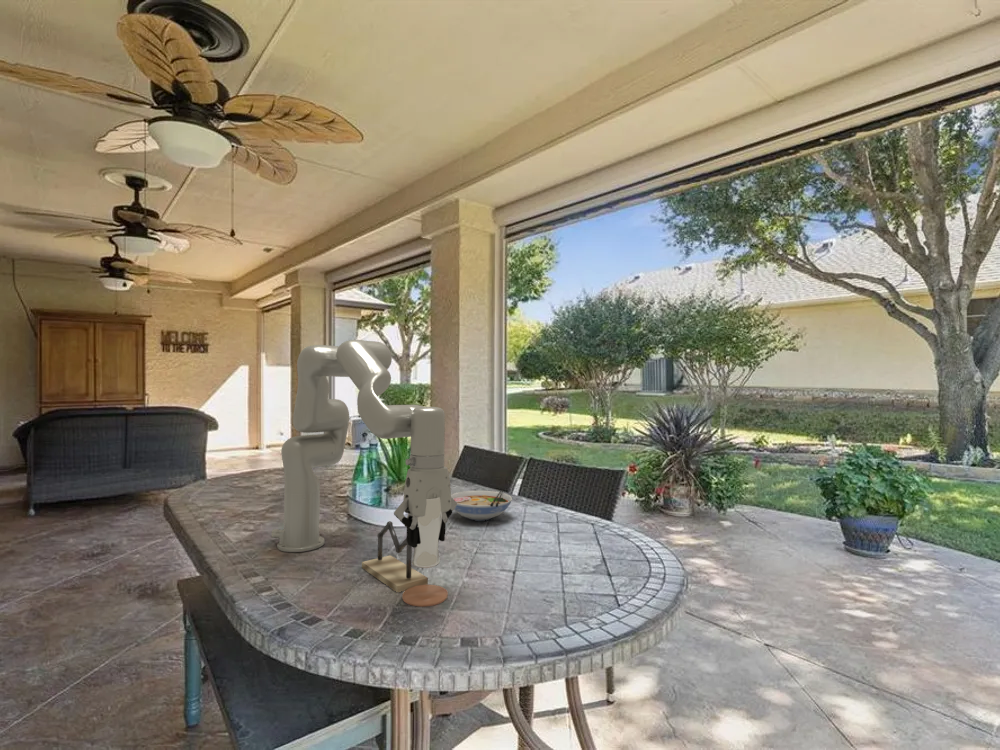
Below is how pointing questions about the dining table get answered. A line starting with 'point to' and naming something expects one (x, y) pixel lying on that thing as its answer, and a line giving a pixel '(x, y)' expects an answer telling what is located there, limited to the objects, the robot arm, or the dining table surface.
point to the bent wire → (398, 546)
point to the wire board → (394, 573)
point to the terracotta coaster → (425, 595)
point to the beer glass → (428, 535)
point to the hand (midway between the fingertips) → (426, 542)
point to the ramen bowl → (481, 504)
